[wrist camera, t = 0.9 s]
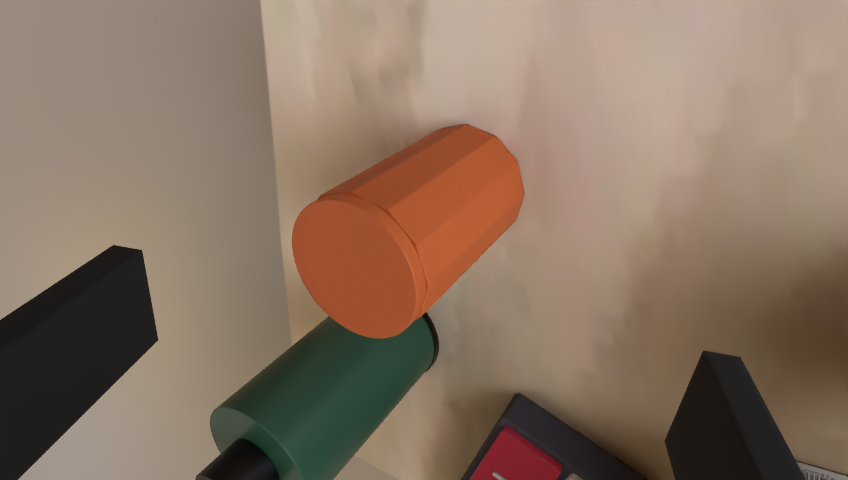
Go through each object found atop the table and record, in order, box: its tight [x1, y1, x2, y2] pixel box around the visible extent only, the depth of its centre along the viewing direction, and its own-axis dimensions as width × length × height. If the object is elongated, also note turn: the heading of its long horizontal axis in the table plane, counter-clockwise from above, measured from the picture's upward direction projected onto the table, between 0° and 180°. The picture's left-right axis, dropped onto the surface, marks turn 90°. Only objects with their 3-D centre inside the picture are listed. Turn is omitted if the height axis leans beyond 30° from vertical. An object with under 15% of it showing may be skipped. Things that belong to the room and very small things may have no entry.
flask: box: [196, 312, 439, 480], centre depth 37 cm, size 9×9×18 cm
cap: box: [292, 125, 524, 339], centre depth 30 cm, size 7×7×12 cm
